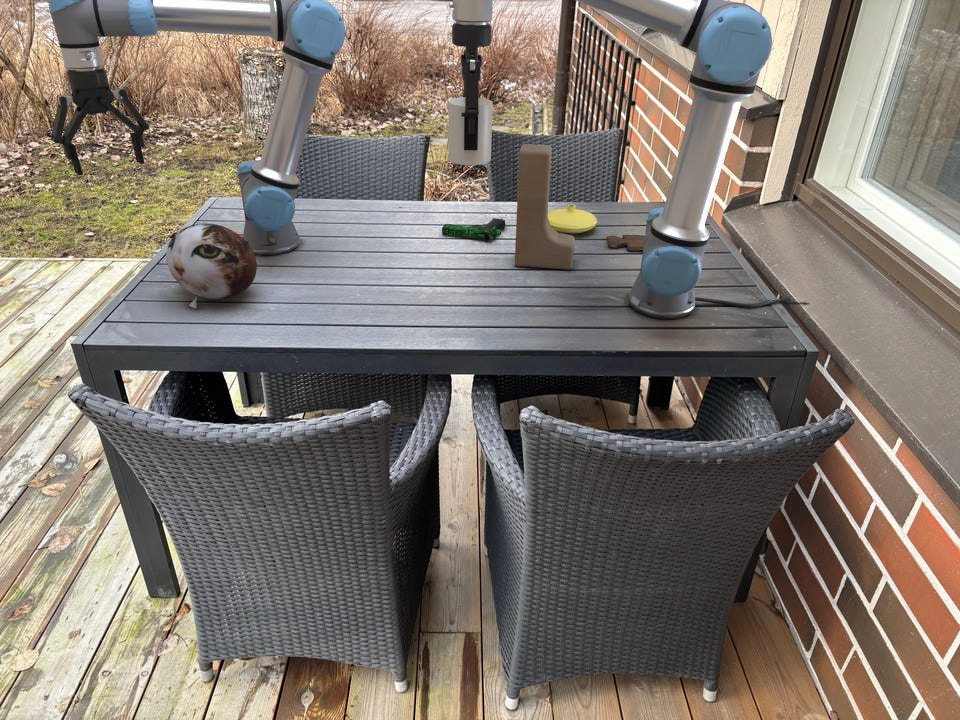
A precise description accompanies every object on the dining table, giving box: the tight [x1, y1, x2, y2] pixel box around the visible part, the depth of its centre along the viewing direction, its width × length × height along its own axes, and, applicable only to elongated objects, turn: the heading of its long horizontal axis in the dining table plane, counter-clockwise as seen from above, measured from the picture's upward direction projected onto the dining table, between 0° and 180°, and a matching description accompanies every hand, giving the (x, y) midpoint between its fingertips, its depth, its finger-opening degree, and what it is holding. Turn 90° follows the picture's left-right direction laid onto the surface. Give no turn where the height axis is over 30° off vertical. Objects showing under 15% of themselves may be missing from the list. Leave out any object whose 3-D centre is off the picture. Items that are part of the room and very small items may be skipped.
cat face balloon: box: [165, 222, 258, 309], centre depth 165 cm, size 22×18×20 cm
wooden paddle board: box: [605, 234, 645, 251], centre depth 200 cm, size 26×2×10 cm
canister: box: [447, 96, 494, 166], centre depth 145 cm, size 9×9×12 cm
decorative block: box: [514, 143, 576, 271], centre depth 181 cm, size 8×15×30 cm, turn 82°
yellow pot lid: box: [547, 203, 598, 234], centre depth 209 cm, size 16×16×7 cm
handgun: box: [441, 217, 506, 242], centre depth 207 cm, size 16×3×15 cm
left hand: (110, 168), depth 162 cm, fingers open, 13 cm apart
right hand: (470, 143), depth 146 cm, fingers closed on canister, 9 cm apart
